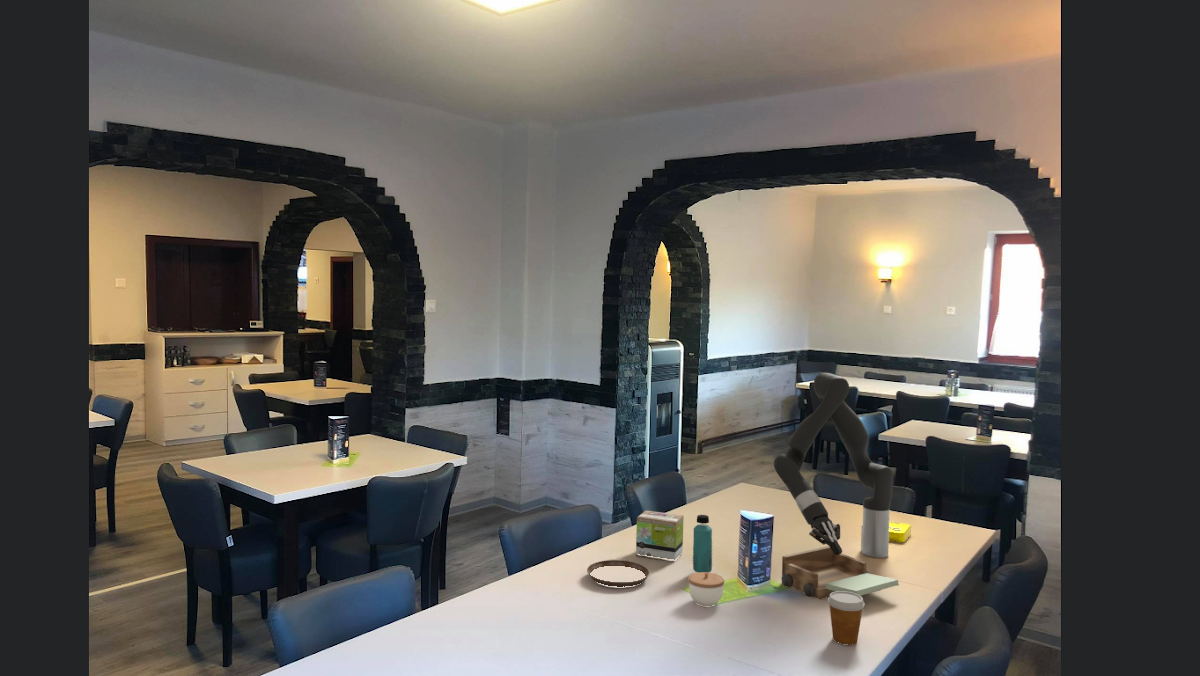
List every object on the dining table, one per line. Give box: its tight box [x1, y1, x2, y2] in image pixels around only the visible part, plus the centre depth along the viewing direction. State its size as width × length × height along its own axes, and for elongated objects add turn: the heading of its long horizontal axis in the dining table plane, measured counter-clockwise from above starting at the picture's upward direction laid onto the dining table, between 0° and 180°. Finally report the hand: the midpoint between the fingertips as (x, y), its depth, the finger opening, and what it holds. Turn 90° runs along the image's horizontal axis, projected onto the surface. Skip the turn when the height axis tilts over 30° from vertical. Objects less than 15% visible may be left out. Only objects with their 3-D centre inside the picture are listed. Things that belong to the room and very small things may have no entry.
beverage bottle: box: [692, 514, 713, 573], centre depth 256 cm, size 6×7×20 cm
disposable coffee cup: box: [827, 591, 865, 646], centre depth 206 cm, size 10×10×12 cm
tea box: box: [635, 509, 684, 560], centre depth 275 cm, size 15×10×15 cm, turn 68°
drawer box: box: [781, 545, 870, 600], centre depth 248 cm, size 16×26×9 cm, turn 121°
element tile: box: [889, 520, 912, 543], centre depth 304 cm, size 15×15×5 cm
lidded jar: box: [688, 572, 725, 607], centre depth 231 cm, size 11×11×9 cm
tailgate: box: [825, 572, 899, 596], centre depth 236 cm, size 2×19×12 cm
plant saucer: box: [586, 559, 650, 587], centre depth 251 cm, size 21×21×3 cm
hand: (839, 553), depth 244 cm, fingers closed
